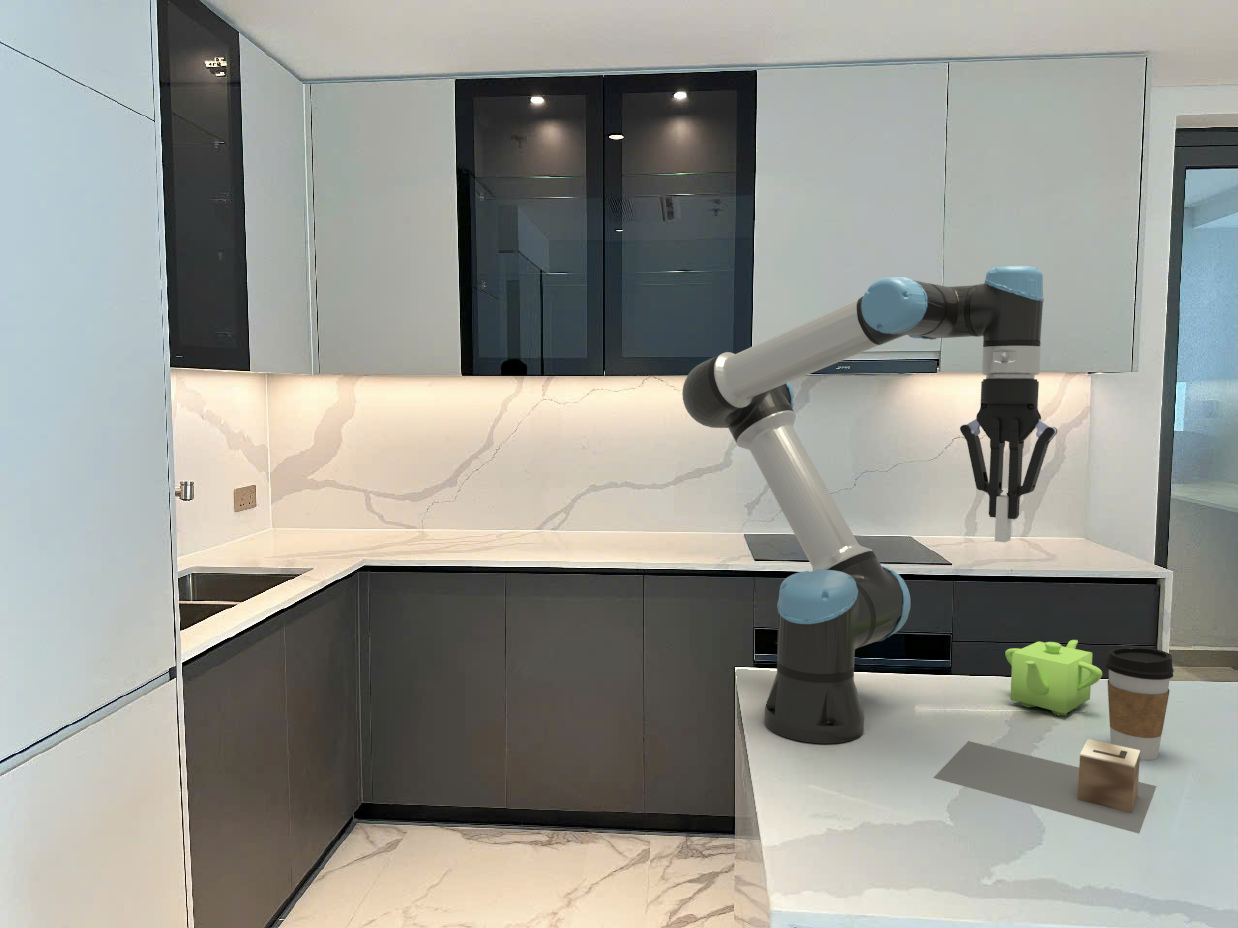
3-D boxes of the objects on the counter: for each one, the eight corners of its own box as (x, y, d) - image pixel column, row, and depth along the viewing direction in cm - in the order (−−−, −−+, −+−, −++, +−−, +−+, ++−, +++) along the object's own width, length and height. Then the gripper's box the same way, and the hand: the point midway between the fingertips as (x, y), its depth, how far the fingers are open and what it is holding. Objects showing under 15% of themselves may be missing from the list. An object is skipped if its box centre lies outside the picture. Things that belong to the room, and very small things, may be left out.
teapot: (1073, 692, 154) (1076, 632, 153) (1118, 720, 141) (1122, 655, 140) (986, 691, 154) (989, 631, 153) (1023, 720, 140) (1027, 655, 139)
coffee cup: (1178, 768, 123) (1185, 662, 121) (1112, 762, 124) (1118, 658, 123) (1154, 744, 131) (1160, 645, 130) (1092, 739, 133) (1098, 642, 131)
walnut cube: (1134, 765, 108) (1131, 813, 109) (1140, 749, 113) (1137, 795, 114) (1080, 753, 112) (1077, 799, 112) (1087, 738, 117) (1085, 782, 117)
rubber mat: (933, 779, 118) (933, 777, 118) (968, 742, 131) (968, 740, 131) (1139, 835, 104) (1139, 833, 104) (1156, 788, 116) (1156, 785, 116)
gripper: (955, 376, 127) (948, 539, 129) (1054, 376, 119) (1045, 549, 121) (970, 377, 133) (964, 532, 135) (1065, 377, 125) (1057, 542, 127)
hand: (1002, 540), depth 128 cm, fingers closed
